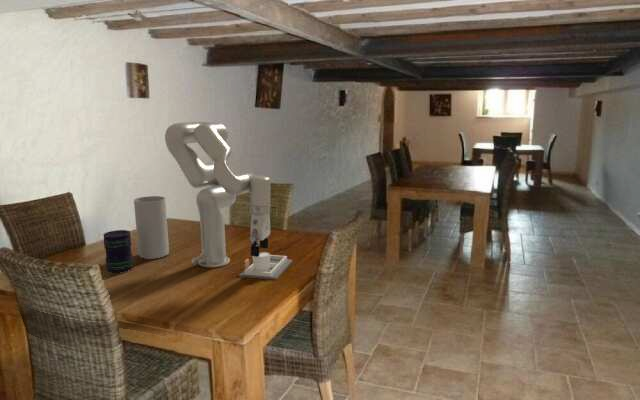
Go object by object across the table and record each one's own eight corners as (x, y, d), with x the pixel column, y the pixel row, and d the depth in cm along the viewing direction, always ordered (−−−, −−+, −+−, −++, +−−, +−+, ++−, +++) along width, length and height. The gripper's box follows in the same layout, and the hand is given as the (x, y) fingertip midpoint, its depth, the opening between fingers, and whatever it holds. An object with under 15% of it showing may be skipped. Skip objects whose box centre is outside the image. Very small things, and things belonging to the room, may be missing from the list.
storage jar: (104, 275, 180) (100, 237, 177) (108, 266, 189) (105, 231, 186) (132, 272, 182) (128, 235, 179) (135, 264, 191) (131, 229, 188)
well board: (276, 279, 174) (276, 267, 173) (238, 276, 177) (238, 264, 176) (292, 261, 194) (292, 250, 193) (258, 259, 197) (258, 248, 196)
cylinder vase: (132, 257, 200) (127, 200, 195) (154, 249, 211) (150, 195, 206) (153, 261, 195) (148, 203, 190) (175, 253, 206) (171, 197, 201)
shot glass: (250, 274, 177) (249, 256, 176) (256, 268, 184) (255, 251, 182) (267, 275, 176) (267, 257, 175) (272, 269, 183) (272, 252, 181)
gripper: (261, 215, 167) (260, 260, 171) (276, 204, 183) (275, 246, 187) (241, 213, 168) (241, 258, 172) (258, 203, 185) (258, 244, 189)
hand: (259, 251), depth 180 cm, fingers open, 9 cm apart
